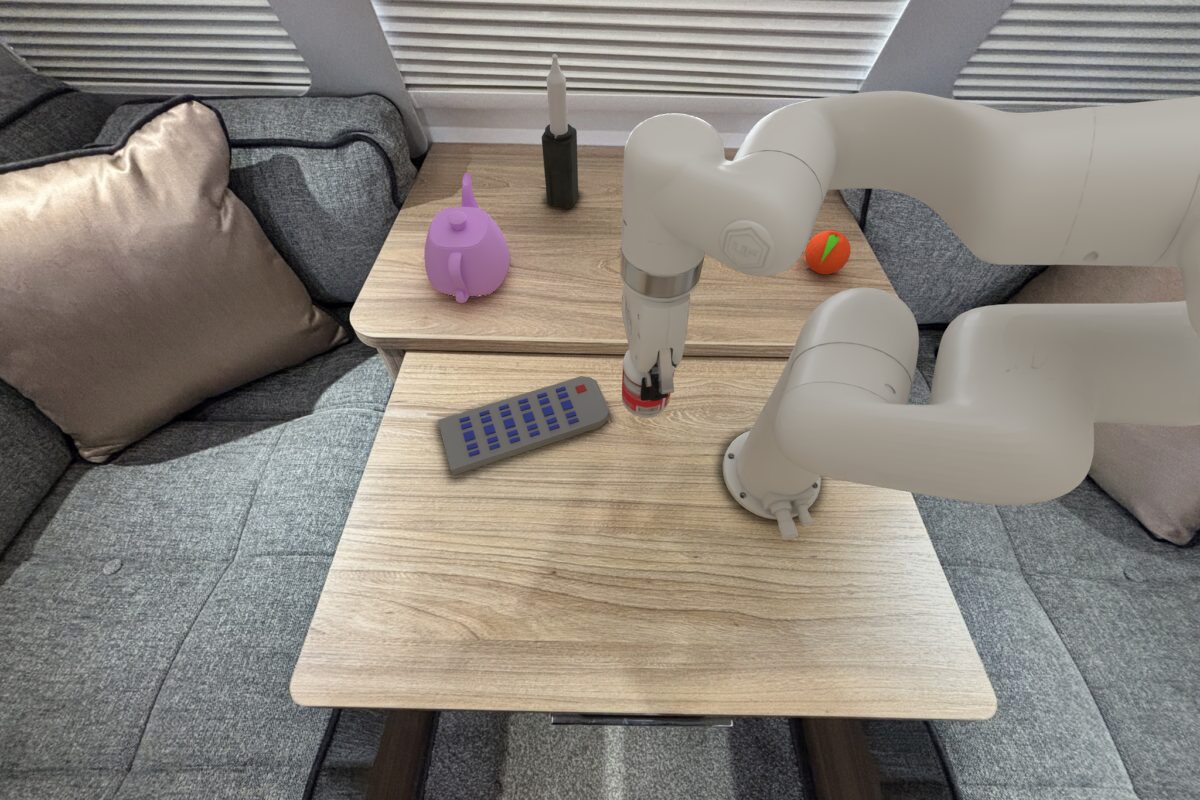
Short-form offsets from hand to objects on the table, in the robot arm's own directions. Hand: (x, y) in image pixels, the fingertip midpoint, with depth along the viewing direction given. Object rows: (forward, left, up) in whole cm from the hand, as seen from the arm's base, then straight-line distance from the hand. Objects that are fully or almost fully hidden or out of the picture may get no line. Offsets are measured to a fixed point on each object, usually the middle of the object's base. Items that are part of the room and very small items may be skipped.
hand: (648, 372), depth 64 cm
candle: (+49, +5, -12) cm, 51 cm away
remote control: (+2, +16, -12) cm, 20 cm away
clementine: (+25, -36, -12) cm, 45 cm away
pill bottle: (0, 0, -6) cm, 6 cm away
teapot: (+33, +22, -12) cm, 42 cm away
